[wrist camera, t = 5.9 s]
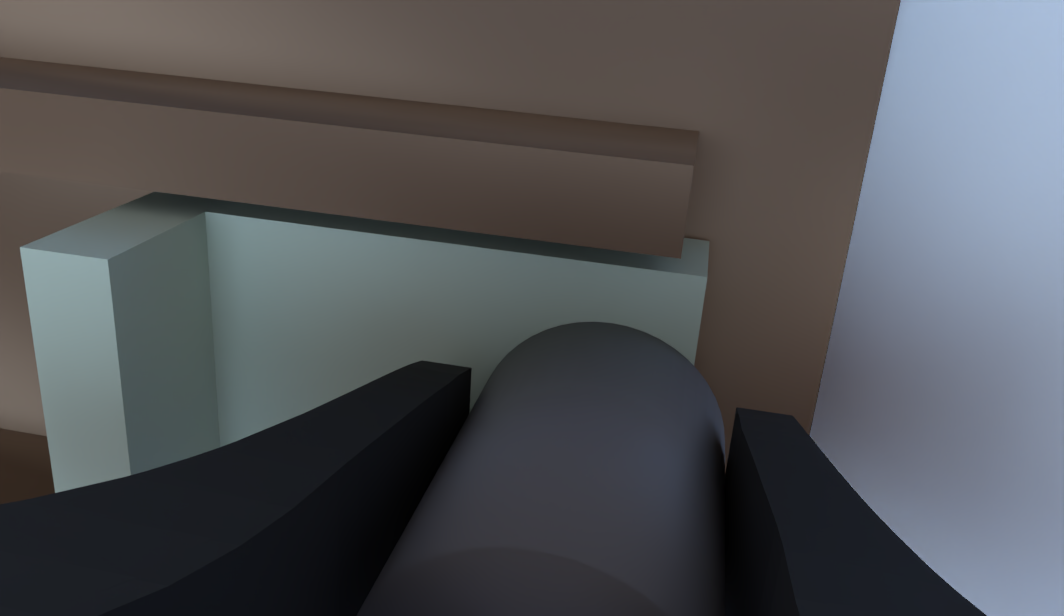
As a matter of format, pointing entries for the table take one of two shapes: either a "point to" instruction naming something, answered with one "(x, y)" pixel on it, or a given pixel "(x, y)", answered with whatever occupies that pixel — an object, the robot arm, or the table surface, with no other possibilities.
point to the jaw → (387, 345)
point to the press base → (463, 145)
